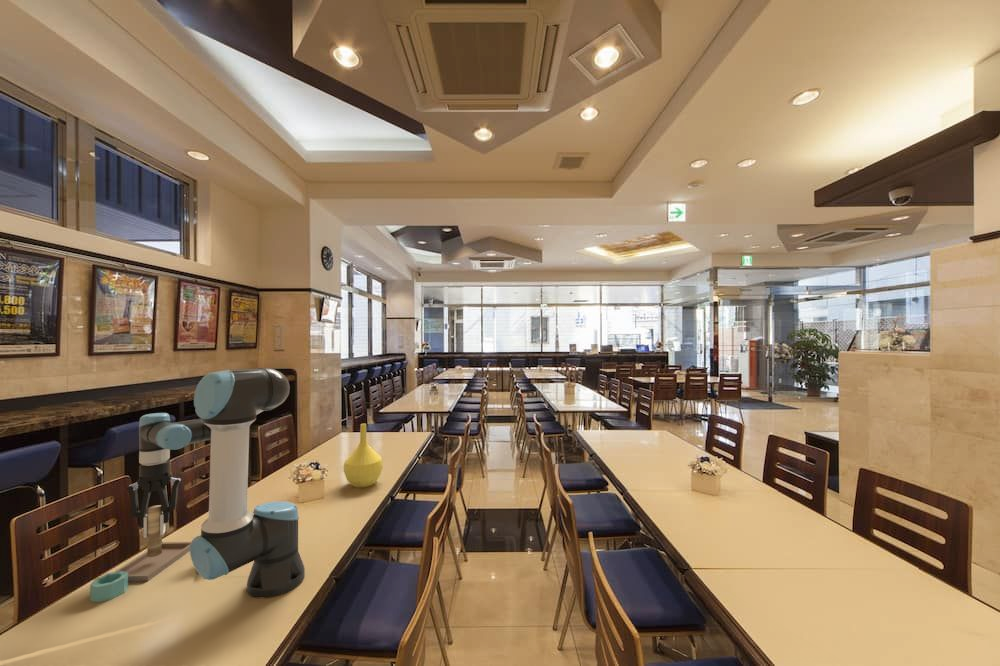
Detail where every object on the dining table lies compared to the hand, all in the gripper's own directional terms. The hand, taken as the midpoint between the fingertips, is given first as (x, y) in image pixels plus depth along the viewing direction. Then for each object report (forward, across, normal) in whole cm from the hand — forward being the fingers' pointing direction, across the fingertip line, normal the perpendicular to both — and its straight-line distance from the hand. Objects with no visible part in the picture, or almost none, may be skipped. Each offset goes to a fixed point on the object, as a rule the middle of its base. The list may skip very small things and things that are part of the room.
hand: (154, 534), depth 131 cm
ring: (+10, +7, +14) cm, 18 cm away
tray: (+10, 0, 0) cm, 10 cm away
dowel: (+6, 0, 0) cm, 6 cm away
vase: (+10, -71, -42) cm, 83 cm away
